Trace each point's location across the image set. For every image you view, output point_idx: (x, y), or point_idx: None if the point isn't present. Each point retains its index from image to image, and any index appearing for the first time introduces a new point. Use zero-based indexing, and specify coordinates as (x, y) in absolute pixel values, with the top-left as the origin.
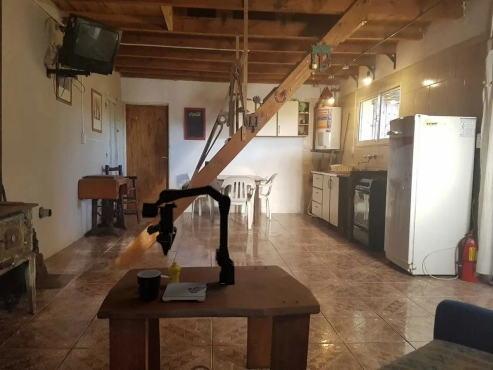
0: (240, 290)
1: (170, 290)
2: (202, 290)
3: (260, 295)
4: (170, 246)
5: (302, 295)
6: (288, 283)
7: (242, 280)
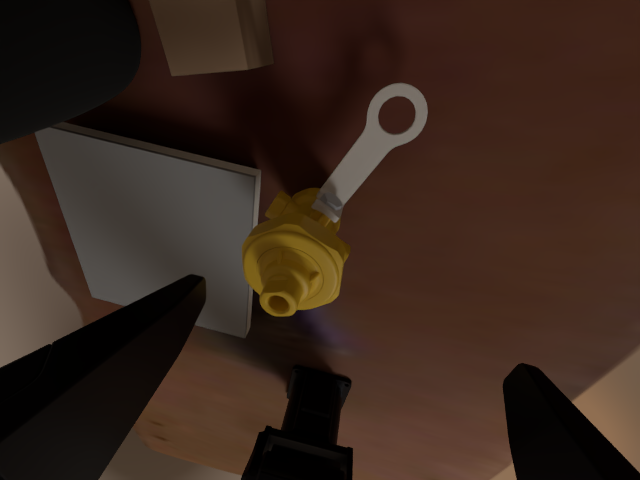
0: (231, 388)
1: (127, 175)
2: None
3: (192, 408)
4: (520, 450)
5: (197, 457)
6: None
7: None
